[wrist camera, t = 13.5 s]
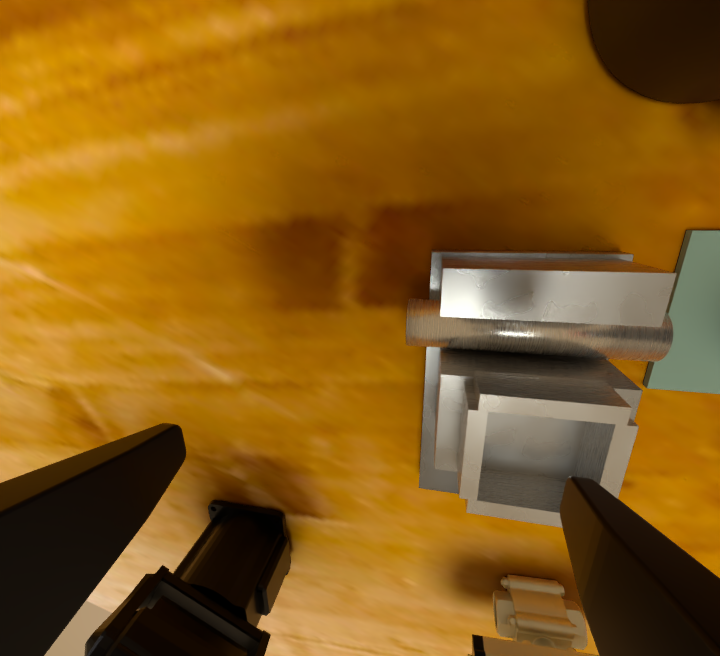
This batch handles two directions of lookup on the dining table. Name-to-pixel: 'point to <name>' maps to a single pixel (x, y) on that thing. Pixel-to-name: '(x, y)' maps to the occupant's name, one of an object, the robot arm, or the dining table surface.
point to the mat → (693, 320)
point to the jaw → (531, 428)
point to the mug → (661, 46)
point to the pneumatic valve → (533, 621)
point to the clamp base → (535, 315)
